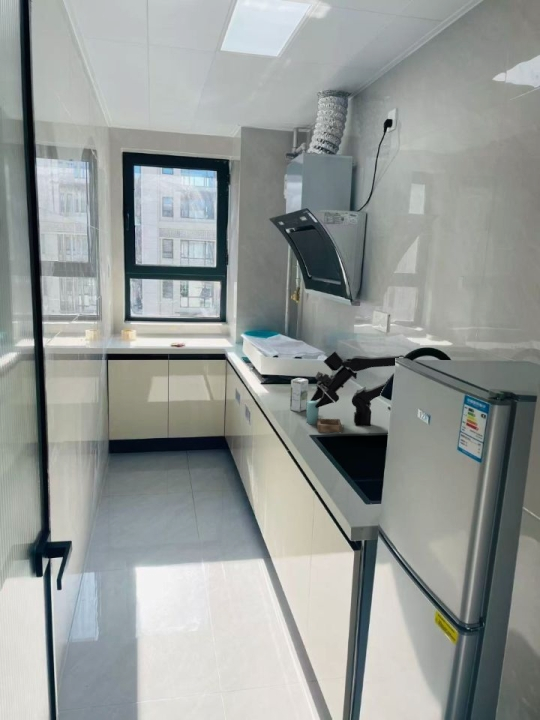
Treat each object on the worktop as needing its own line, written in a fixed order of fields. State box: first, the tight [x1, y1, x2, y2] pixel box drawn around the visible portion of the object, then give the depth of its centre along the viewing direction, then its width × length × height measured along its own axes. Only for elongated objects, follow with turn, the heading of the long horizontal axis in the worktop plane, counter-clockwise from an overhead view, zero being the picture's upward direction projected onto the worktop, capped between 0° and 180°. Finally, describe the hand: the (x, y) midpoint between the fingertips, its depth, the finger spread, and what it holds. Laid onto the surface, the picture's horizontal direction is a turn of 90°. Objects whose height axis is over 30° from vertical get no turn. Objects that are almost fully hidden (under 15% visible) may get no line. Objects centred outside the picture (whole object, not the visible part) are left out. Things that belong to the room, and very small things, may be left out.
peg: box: [305, 400, 320, 425], centre depth 236 cm, size 5×5×9 cm
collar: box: [316, 418, 343, 433], centre depth 228 cm, size 9×9×3 cm
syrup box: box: [289, 377, 309, 413], centre depth 256 cm, size 6×6×14 cm
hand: (313, 404), depth 236 cm, fingers open, 9 cm apart
